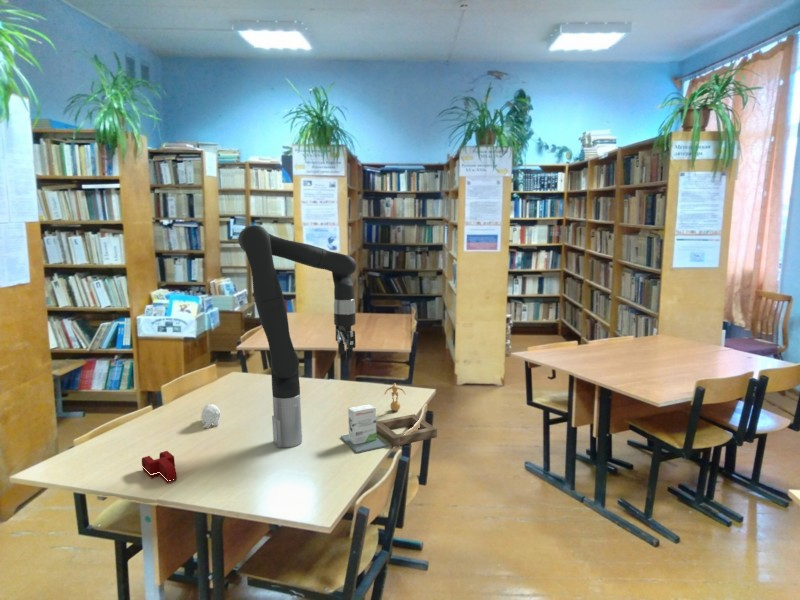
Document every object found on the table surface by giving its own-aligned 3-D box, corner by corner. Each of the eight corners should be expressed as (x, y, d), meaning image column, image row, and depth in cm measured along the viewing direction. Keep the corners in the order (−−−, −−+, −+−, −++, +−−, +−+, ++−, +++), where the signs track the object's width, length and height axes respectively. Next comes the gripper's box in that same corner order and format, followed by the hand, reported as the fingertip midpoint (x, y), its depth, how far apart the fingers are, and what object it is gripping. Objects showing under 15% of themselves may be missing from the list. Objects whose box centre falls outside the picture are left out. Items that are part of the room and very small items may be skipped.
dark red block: (142, 470, 168) (141, 455, 168) (165, 463, 173) (164, 448, 172) (160, 488, 157) (159, 472, 156) (185, 480, 161) (184, 464, 161)
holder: (393, 446, 183) (393, 438, 182) (373, 429, 198) (373, 422, 197) (437, 437, 190) (437, 429, 190) (414, 421, 205) (414, 414, 205)
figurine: (405, 409, 219) (405, 380, 218) (405, 414, 214) (405, 384, 212) (385, 409, 220) (384, 380, 218) (384, 414, 214) (383, 384, 212)
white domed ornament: (202, 407, 199) (196, 401, 209) (204, 430, 199) (197, 423, 209) (220, 404, 202) (212, 398, 212) (222, 426, 203) (214, 420, 213)
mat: (356, 453, 178) (356, 451, 178) (340, 437, 191) (340, 435, 191) (386, 446, 183) (386, 445, 183) (369, 431, 196) (369, 430, 196)
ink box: (371, 435, 191) (370, 403, 190) (377, 440, 187) (376, 407, 185) (348, 440, 187) (347, 407, 186) (353, 445, 183) (352, 411, 181)
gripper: (328, 309, 195) (329, 353, 198) (341, 315, 183) (342, 362, 185) (347, 308, 199) (348, 351, 201) (362, 313, 186) (362, 359, 188)
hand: (345, 356), depth 193 cm, fingers open, 8 cm apart
